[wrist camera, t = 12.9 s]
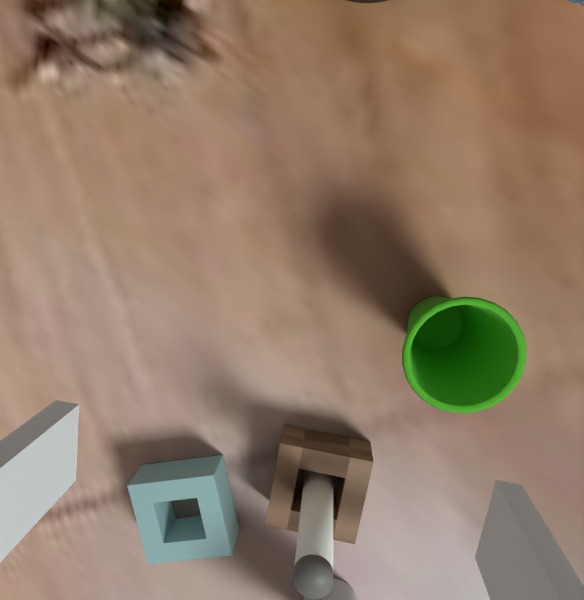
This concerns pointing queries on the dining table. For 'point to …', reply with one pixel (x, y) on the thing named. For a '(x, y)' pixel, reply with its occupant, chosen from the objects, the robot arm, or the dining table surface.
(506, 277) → the dining table surface
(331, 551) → the pale grey rod
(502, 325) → the cup
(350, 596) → the coffee cup
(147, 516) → the teal square ring
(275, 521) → the brown square wooden ring
